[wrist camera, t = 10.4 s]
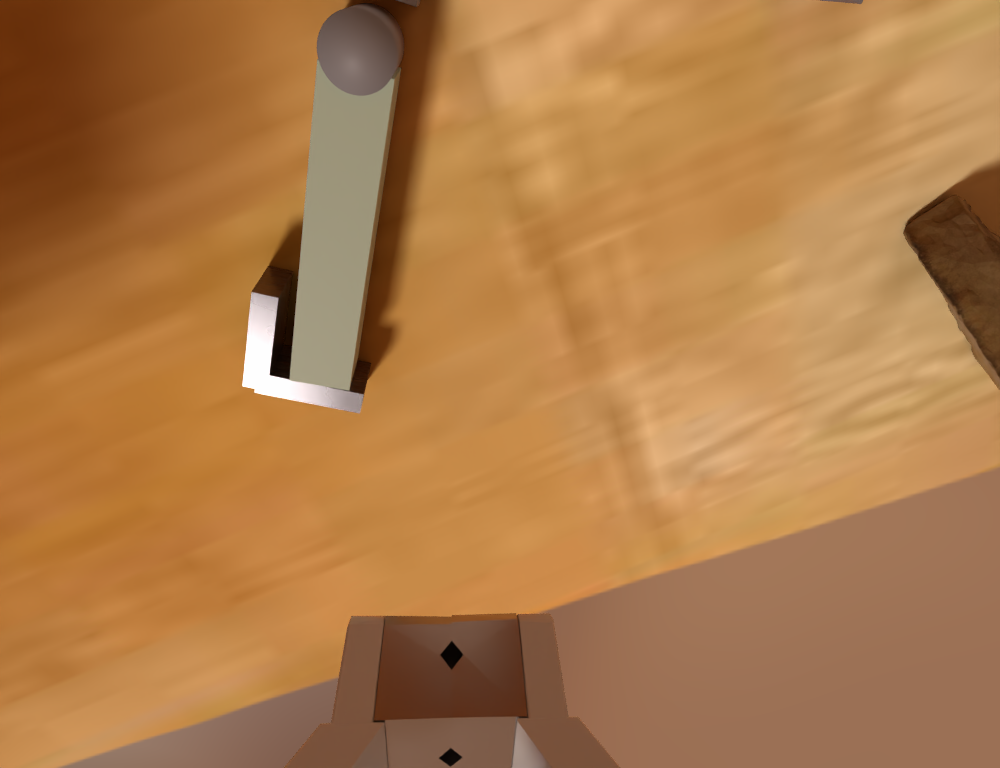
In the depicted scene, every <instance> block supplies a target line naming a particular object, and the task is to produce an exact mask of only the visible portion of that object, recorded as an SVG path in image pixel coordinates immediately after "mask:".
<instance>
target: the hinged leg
mask: <svg viewBox="0 0 1000 768" xmlns="http://www.w3.org/2000/svg"><path fill="white" fill-rule="evenodd" d="M403 54H404V38H403V34H402V31H401V28H400V26H399V24H398V22H397V21H396V20H395V18H394V17H393V16H392V15H391V14H390V13H389V12H388V11H387V10H385V9H384V8H382V7H380V6H378V5H375V4H370V3H362V4H357V5H354V6H351V7H348V8H345V9H342V10H339V11H337V12H335V13H334V14H332V15H331V16H330V17H329V18H328V19H327V20H326V21H325V22H324V24H323V25H322V27H321V30H320V32H319V35H318V40H317V55H318V60H317V69H316V81H315V92H314V104H313V115H312V127H311V138H310V150H309V161H308V173H307V184H306V195H305V207H304V218H303V230H302V241H301V253H300V264H299V276H298V287H297V299H296V310H295V322H294V333H293V345H292V356H291V367H290V379H289V380H290V381H296V382H301V383H307V384H313V385H319V386H325V387H331V388H337V389H342V390H348V391H349V390H350V386H351V382H352V378H353V375H354V371H355V367H356V363H357V359H358V355H359V348H360V342H361V335H362V328H363V321H364V315H365V308H366V301H367V295H368V288H369V281H370V275H371V268H372V261H373V254H374V248H375V241H376V234H377V228H378V221H379V214H380V208H381V201H382V194H383V187H384V181H385V174H386V167H387V161H388V154H389V147H390V141H391V134H392V127H393V120H394V114H395V107H396V100H397V94H398V87H399V80H400V74H401V68H399V65H400V63H401V61H402V58H403Z"/></svg>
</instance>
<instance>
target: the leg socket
mask: <svg viewBox="0 0 1000 768" xmlns="http://www.w3.org/2000/svg"><path fill="white" fill-rule="evenodd" d="M292 276H293V272H292V271H288V270H284V269H280V268H275V267H271V266H268V267H267V269H266V270H265V272H264V273H263V275H262V277H261V278H260V280H259V281H258V283H257V284H256V286H255V287H254V289H253V290H252V292H251V303H250V313H249V324H248V334H247V345H246V356H245V366H244V377H243V386H244V387H249V388H254V389H255V393H259V394H264V395H269V396H275V397H280V398H285V399H290V400H295V401H300V402H305V403H310V404H315V405H320V406H325V407H330V408H335V409H340V410H345V411H350V412H355V413H360V410H361V406H362V402H363V397H364V393H365V388H366V384H367V379H368V375H369V370H370V365H371V363H367V362H362V361H358V360H357V363H356V367H355V371H354V375H353V378H352V382H351V386H350V390H349V391H348V390H342V389H337V388H331V387H325V386H319V385H313V384H307V383H301V382H296V381H290V380H289V379H290V367H291V356H292V346H287V345H284V338H285V330H286V322H287V315H288V307H289V299H290V291H291V283H292Z"/></svg>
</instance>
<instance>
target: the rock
mask: <svg viewBox="0 0 1000 768" xmlns="http://www.w3.org/2000/svg"><path fill="white" fill-rule="evenodd" d="M903 234H904V236H905V238H906V240H907V242H908V244H909V245H910V246H911V248H912V249H913V250H914V252H915V253H916V254H917V256H918V258H919V261H920V262H921V263H922V265H923V266H924V267H925V269H926V271H927V272H928V274H929V275H930V277H931V278H932V279H933V281H934V282H935V284H936V285H937V287H938V288H939V290H940V291H941V293H942V294H943V296H944V298H945V300H946V302H947V303H948V307H949V309H950V312H951V313H952V315H953V316H954V317H955V319H956V320H957V323H958V327H959V329H960V331H962V332H963V334H964V335H965V337H966V339H967V340H968V341H969V343H970V344H971V345H972V352H973V355H974V357H975V359H976V360H977V361H978V362H979V364H980V365H981V366H982V367H983V369H984V370H985V371H986V373H987V374H988V375H989V377H990V378H991V379H992V381H993V382H994V383H995V385H996V386H997V387H998V389H1000V237H999V236H997V235H995V234H993V233H991V232H990V231H989V230H988V228H987V227H986V226H985V225H984V224H983V223H982V222H981V220H980V219H979V218H978V217H977V216H976V215H975V214H973V213H972V212H971V206H970V205H969V204H968V203H967V202H966V201H965V200H962V199H961V198H960V197H959V196H957V195H953V196H951V197H949V198H947V199H945V200H944V201H943V202H941V203H940V204H938V205H937V206H935V207H934V208H932V209H931V210H929V211H927V212H926V213H924V214H922V215H921V216H919V217H917V218H916V219H915V220H913V221H912V222H911V223H910V224H908V225H907V226H906V227H905V230H904V232H903Z"/></svg>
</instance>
